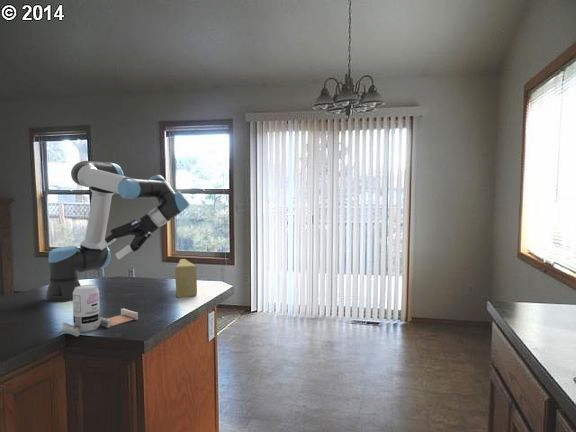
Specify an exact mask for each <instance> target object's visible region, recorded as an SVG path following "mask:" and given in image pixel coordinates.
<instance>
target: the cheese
mask: <svg viewBox="0 0 576 432" xmlns="http://www.w3.org/2000/svg"><path fill="white" fill-rule="evenodd" d="M174 269H175V271H174V272H175V273H174V275H175V276H174V277H175V278H174V279H175V281H174V282H175V293H176V295H175V296H176V298H188V297H189V298H190V297H196V296H197V295H198V283H197V282H198V281H197V277H198V275H197V273H198V272H197V271H198V269H197V265H195V264H193V263H192V262H190V261H188V259H185V258H180V259H179V261H178V264H177V265H176V266H175V268H174Z"/></svg>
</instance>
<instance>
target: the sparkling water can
mask: <svg viewBox="0 0 576 432" xmlns="http://www.w3.org/2000/svg"><path fill="white" fill-rule="evenodd" d="M72 315H73V317H72V318H73V319H72V323H73V324H72V325H73V326H75V327H77V328H79V333H87V332H92V331H95V330H97V329H98V328H99V327H100V326H101V325H100V317H101V316H100V289H99V288H98V286H97V285H96V284H84V285H81V286H78V287H75V289H74V291H73V300H72ZM99 316H100V317H99Z"/></svg>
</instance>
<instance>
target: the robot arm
mask: <svg viewBox="0 0 576 432" xmlns="http://www.w3.org/2000/svg"><path fill="white" fill-rule="evenodd" d="M70 177H71V179H72V181H73V182H74V183H75V185H76V184H77V185H78V186H81V187H85V188H89V190H90V191H91V193H92V194H91V200H90V206H89V211H88V218H87V223H86V224H87V225H86V231H85V237H84V239H83V240H82V241H81V242H80V247H78V246H77V245H67V246H61V247H56V248H54V249H51V250H50V251H49V252H48V259H47V262H48V279H49V280H48V281H49V282H48V286H47V289H46V292H45V296H44V300H45V302H50V301H51V302H53V303H55V302H56V303H57V302H59V303H60V302H68V301H73V291H74V289H75V287H78V286H82V285H81V283H80V280H79V274H80V273H85V272H91V271H92V272H93V271H99V270H101V269H104V268H106V267H108V265H109V263H110V261H111V255H112V254H111V250H110V248H109V247H108V246H110V245H111V244H113V243H114V242H115V241H117V239H119V238H122V237H125V236H126V237H127V236H134V237H133V239H132V240H131V243H130V244H127V245H126V246H125V247H123V248H122V249H121V250H119V251H117V252H116V253H114V256H116V258H117V260H120V259H122V258H124V257H125V256H126V255H127V254H129V253H130V252H132V251H133V252H136V251H138V250H139V249H141V247H142V246H143V244H145V242H146V241H147V240H148V239H149V238H150V237H151V236H152V234H153V233H155V232H156V231H157V230H158V229H160V228H159V227H162V226H164V225H166V224H167V223H168V222H169V221H171V220H172V219H173V218H175V217H176V216H178V215H179V214H181V213H183V212H184V211H185V210H186V209H187V208H188V207H189V206H190V203H189V201H188V200H187V199H186V197H185V196H184V195H183V193H182V192H181V191H177V192H175V191H174V189H173V188H172V186H171V185H170V184H169V182H168V181H167V180H166V179H165V178H164V176H162V175H160V174H156V175H153V176H151V177H149V179H138V178H134V177H130V176H125V175H124V171H123V170H122V167H121V166H120V165H119V164H117V163H113V162H109V161H94V160H82V161H79V162H77V163H76V164H74V165H73V167H72V168H71V171H70ZM115 194H118V195H119V196H120V197H121V198H123V199H128V200H135V199H156V200H157V202H158V203H159V205H157V206H156V207H154V208H153V209H151V210H150V211H149V212H148V213H146V214H145V215H143V216H142V217H140V219H139V220H140V221H139V222H137V220H136V219H134V220H131V221H130V222H128V223H124V224H123V225H120V226H117V227H115V228H113V229H111V230H110V233H111V234H110V235H108V236H106V234H107V227H108V222H109V217H110V210H111V204H112V197H113V195H115ZM51 302H50V303H51Z"/></svg>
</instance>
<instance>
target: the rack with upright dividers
mask: <svg viewBox="0 0 576 432" xmlns="http://www.w3.org/2000/svg"><path fill="white" fill-rule="evenodd" d="M99 317H100V325H99V326H102V327H105V328H106V329H108V328H111V327H113V326H116V325H121V324H124V323H128V322H131V321H134V320H135V321H137V320H139V312H136V311H134V310H133V311H132V310H129V309H126V308H124V307H123V308H120V314H119V315H115V316H112V317H108V318H105V317H103V316H100V315H99ZM61 325H62V329H61V330H62V331H63V332H65V333H67V334H69V335H71V336H74V337H80V332H79V328H77V327H75V326H74V325H73V324H70V323H67V322H63V323H62V324H61Z"/></svg>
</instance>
